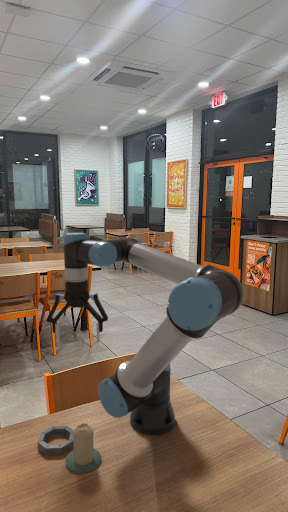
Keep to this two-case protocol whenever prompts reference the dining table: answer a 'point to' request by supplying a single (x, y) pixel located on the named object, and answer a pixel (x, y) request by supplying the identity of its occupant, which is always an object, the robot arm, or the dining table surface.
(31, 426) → the dining table surface
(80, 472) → the coaster
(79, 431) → the candle
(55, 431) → the holder ring
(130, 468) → the dining table surface
